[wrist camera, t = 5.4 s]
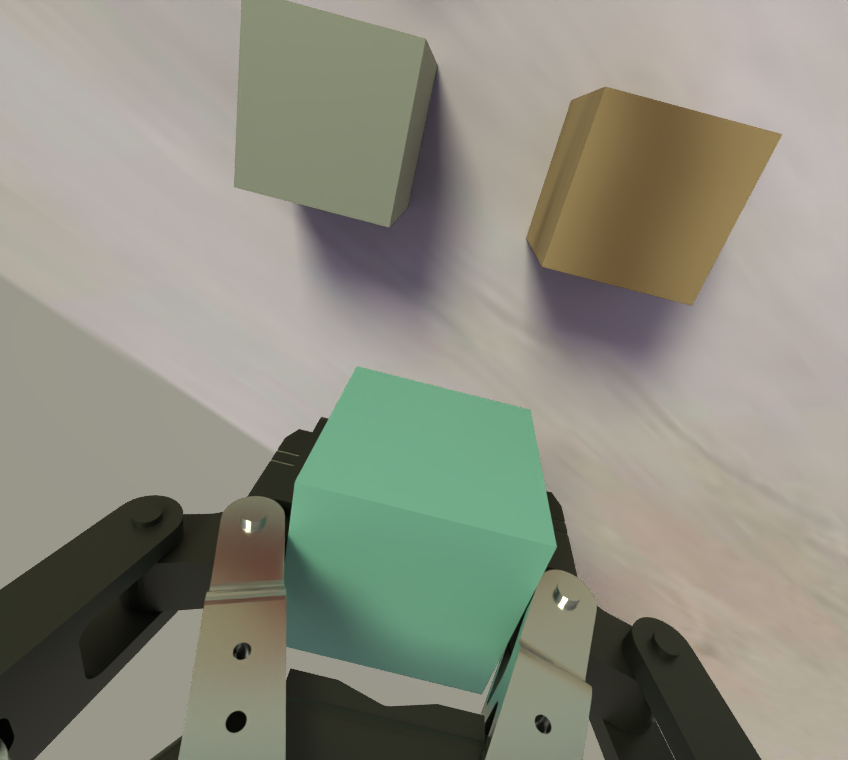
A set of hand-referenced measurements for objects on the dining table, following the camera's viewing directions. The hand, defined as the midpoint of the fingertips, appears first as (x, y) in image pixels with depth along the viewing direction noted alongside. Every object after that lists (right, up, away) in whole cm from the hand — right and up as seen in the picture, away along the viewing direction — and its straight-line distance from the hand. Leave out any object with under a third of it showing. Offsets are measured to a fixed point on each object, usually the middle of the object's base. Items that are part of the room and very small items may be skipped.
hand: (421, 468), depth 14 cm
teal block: (0, 0, 0) cm, 1 cm away
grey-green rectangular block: (-2, +12, +4) cm, 13 cm away
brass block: (+7, +10, +4) cm, 13 cm away
